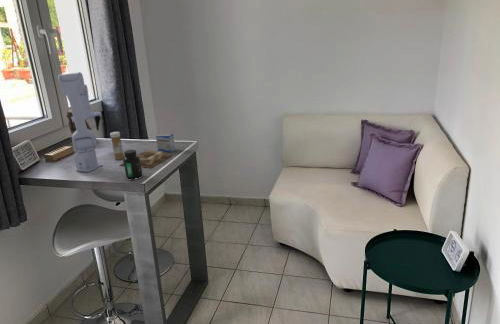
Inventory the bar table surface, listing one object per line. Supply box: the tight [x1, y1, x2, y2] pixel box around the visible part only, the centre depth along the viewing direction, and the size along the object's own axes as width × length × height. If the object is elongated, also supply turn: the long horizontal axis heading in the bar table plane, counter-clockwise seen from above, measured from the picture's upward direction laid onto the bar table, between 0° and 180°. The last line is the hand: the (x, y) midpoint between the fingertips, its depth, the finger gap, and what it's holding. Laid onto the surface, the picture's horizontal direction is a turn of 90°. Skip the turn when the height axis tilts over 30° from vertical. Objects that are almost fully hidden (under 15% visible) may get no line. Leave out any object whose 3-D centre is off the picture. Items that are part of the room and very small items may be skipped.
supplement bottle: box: [122, 149, 144, 180], centre depth 170 cm, size 7×7×12 cm
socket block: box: [119, 150, 173, 169], centre depth 192 cm, size 18×18×3 cm
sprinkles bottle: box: [109, 131, 125, 161], centre depth 196 cm, size 5×5×13 cm
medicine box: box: [155, 133, 176, 153], centre depth 203 cm, size 8×4×9 cm, turn 76°
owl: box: [66, 109, 93, 135], centre depth 225 cm, size 13×13×20 cm
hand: (90, 131), depth 210 cm, fingers open, 7 cm apart
